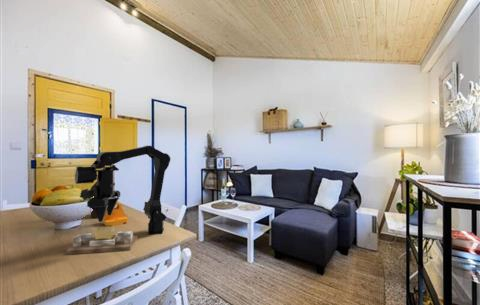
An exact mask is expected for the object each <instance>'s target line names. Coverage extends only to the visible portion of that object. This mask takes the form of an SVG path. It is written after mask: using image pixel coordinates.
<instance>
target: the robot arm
mask: <svg viewBox="0 0 480 305" xmlns="http://www.w3.org/2000/svg"><path fill="white" fill-rule="evenodd" d="M144 155H147V156H148V157H149V158H150V159H152V160H153V167H154V174H153V180H152V186H151V190H150V197H149V199H148V200H147V201H144V206H143V209H142V210H143V213H144V215H145V216H147V217H148V219H149V221H148V224H147V228H148V229H147V231H148V235H155V234H156V235H157V234H158V235H159V234H160V235H161V234H163V232H164V231H165V230H164V229H165V228H164V221H166V218H167V215H165V214H164V212H162V203H161V197H162V196H161V195H162V191H163V190H162V189H163V184H164V178H165V172H166V170H167V169H168V168H169V165H170V162H171V156H170V155H169V154H168V153H166V152H165V153H164V152H162V151H161V150H159V149H157V148H155V147H154V146H152V145H144V146H140V147H135V148H130V149H125V150H121V151H102V152H99V153H98V154H97V155H96V159H95V161H94V162H93V163H92V164H91V165H90V166H81V165H79V166H76V167H75V168H76V170H75V174H74V182H75V185H79V184H80V185H81V184H89V183H90V184H93V183H94V182H95V181H96V182H97V175H98V184H97V185H95V188H94V189H91V188H90V189H91V190H90V189H89V188H85V189H82V190H81V191H80V193H79V194H80V195H79V197H80V198H82V200H83V201H85V200H88V201H87V202H86V207H88V208H89V209H91V208H92V209H93V210H95V212H96V215H97V218H96V219H97V220H98V222H99V223H103V218H104V215H105V213H106V210H107V212H108V215H111V213H112V211H113V209H114V208H116V206H117V204H116V203H117V201H118V202H119V200H120V197H121V192H120V191H119V190H114V186H116V182H114V171H116V172H117V171H119V169H120V168H118V167H117V166H116V164H117V163H120V162H121V161H123V160H124V161H125V160H127V159H131V158H136V157H141V156H144ZM93 196H94V198H92V199H90V197H93Z"/></svg>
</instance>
